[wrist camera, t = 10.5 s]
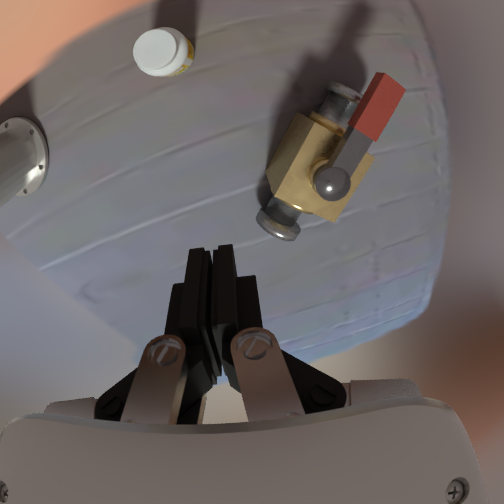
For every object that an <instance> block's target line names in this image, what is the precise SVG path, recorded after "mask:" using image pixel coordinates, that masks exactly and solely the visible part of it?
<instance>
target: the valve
mask: <svg viewBox="0 0 504 504" xmlns="http://www.w3.org/2000/svg"><path fill="white" fill-rule="evenodd" d="M326 90H327V91H329V93H328V95H327V97H326V99H325V100H324V102H323V104H322V106H321V108H320V109H319V111H318V113H316V112H314V111H312V112H311V114H310V115H309V117H307V116H305V115H303V114H301V113H299V112H297V113H296V114H295V116H294V118H293V120H292V122H291V124H290V126H289V127H288V129H287V131H286V133H285V135H284V137H283V139H282V141H281V142H280V144H279V146H278V148H277V150H276V152H275V154H274V156H273V158H272V160H271V161H270V163H269V165H268V167H267V169H266V171H265V173H266V175H267V178H268V181H269V183H270V186H271V187H270V190H271V192H272V193H273V195H272V197H271V199H270V201H269V202H268V204H267V206H266V207H261V208H260V210H259V212H258V214H257V216H256V221H257V223H258V224H259V225H260V227H261V228H263V229H264V230H265V231H266V232H268V233H269V234H271V235H272V236H274V237H276V238H279V239H281V240H285V241H294V240H295V239H296V238H297V236H298V234H299V233H300V231H301V229H300V226H299V225H298V224H297V222H296V221H297V219H298V218H299V216H300V214H301V213H302V212H303V213H306V214H316V215H318V216H321V217H323V218H325V219H327V220H329V221H332V222H335V221H336V219H337V218H338V216H339V215H340V213H341V212H342V210H343V209H344V207H345V205H346V204H347V202H348V201H349V199H350V198H351V196H352V194H353V193H354V191H355V190H356V188H357V186H358V185H359V183H360V182H361V180H362V178H363V177H364V175H365V174H366V172H367V170H368V169H369V167H370V165H371V164H372V162H373V160H374V159H375V158H374V157H373V156H372V155H370V154H369V153H367V152H366V153H365V155H364V157H363V158H362V160H361V162H360V163H359V165H358V166H357V168H356V170H355V171H354V173H353V175H352V176H351V178H350V180H351V187H350V190H349V192H348V193H347V195H346V196H345V197H343V198H342V199H340V200H338V201H327V200H324V199H323V198H322V197H321V196H320V195H319V194H318V192H317V191H316V189H315V188H314V185H313V175H314V173H315V171H316V170H317V169H318V168H319V167H320V166H321V165H323V164H326V163H327V162H328V160H329V159H330V157H331V155H332V154H333V152H334V150H335V148H336V147H337V145H338V143H339V142H340V140H341V138H342V136H343V135H344V133H345V131H346V130H347V128H348V126H349V125H348V124H347V123H348V121H349V120H350V118H351V116H352V115H353V113H354V111H355V109H356V108H357V106H358V104H359V102H360V100H361V99H362V97H363V95H362V94H360V93H359V92H357V91H355V90H353V89H352V88H350V87H348V86H346V85H344V84H342V83H339V82H337V81H334V80H330V82H329V84H328V85H327V87H326Z"/></svg>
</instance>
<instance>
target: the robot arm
mask: <svg viewBox="0 0 504 504" xmlns="http://www.w3.org/2000/svg"><path fill="white" fill-rule="evenodd" d="M48 160H49V156H48V148H47V144H46V141H45V138H44V136H43V134H42V132H41V130H40V129H39V127H38V126H37V125H36V124H35V123H34V122H32V121H31V120H30V119H27V118H25V117H13V118H11V119H8V120H6V121H5V122H3V123H2V124H1V125H0V208H1V207H2V206H3V205H4V204H5V203H6V202H7V201H9V200H10V199H11V198H12V197H13V196H14V195H15V196H27V195H30V194H31V193H33V192H34V191H35V190H37V189H38V188H39V187H40V185H41V184H42V183H43V181H44V179H45V177H46V174H47V170H48ZM222 366H223V369H224V372H225V375H226V376H227V377H228V380H229V383H230V386H231V387H233V388H234V389H236V390H237V391H238V392H240V393H241V394H242V398H243V402H244V406H245V410H246V414H247V417H248V421H249V422H241V423H226V424H202V421H203V416H204V410H205V405H206V398H207V397H206V396H207V394H206V393H207V392H208V391H209V390H210V389H211V388H212V387H213V385H214V384H217V376H222ZM0 504H489V501H488V497H487V493H486V489H485V484H484V480H483V477H482V473H481V470H480V466H479V463H478V460H477V457H476V454H475V452H474V449H473V446H472V444H471V441H470V439H469V437H468V434H467V432H466V430H465V428H464V426H463V424H462V422H461V421H460V419H459V417H458V416H457V414H456V413H455V412H454V410H453V409H452V408H451V407H449V406H448V405H447V404H446V403H444V402H442V401H439V400H435V399H431V398H424V397H421V393H420V390H419V387H418V386H417V385H416V384H415V382H413V381H411V380H409V379H403V378H399V379H382V380H351V381H350V383H340V382H339V381H337V380H336V379H334V378H332V377H330V376H328V375H327V374H325V373H323V372H321V371H319V370H317V369H315V368H314V367H312V366H310V365H308V364H306V363H304V362H303V361H301V360H299V359H297V358H295V357H294V356H292V355H290V354H288V353H287V352H285V351H283V350H281V349H280V347H279V344H278V341H277V339H276V337H275V336H274V334H273V333H271V332H270V331H269V330H267V329H264V328H263V326H262V318H261V311H260V304H259V297H258V290H257V283H256V276H255V275H252V276H243V277H237V272H236V265H235V258H234V251H233V245H232V244H229V245H220V246H218V250H213V264H212V259H211V254H210V251H205V249H204V248H194V249H190V250H189V255H188V261H187V267H186V274H185V280H184V283H177V284H174V285H173V287H172V292H171V298H170V303H169V309H168V315H167V321H166V327H165V333H164V335H161V336H158V337H156V338H154V339H152V340H151V341H150V342H149V343H148V344H147V345H146V347H145V349H144V351H143V354H142V357H141V360H140V363H139V365H138V367H137V368H136V369H135V370H134V371H132V372H131V373H130V374H128V375H127V376H126V377H125V378H123V379H122V380H121V381H119V382H118V383H117V384H115V385H114V386H113V387H112V388H110V389H109V390H107V391H106V392H105V393H104V394H102V396H100V397H99V399H95V398H94V397H90V398H82V399H75V400H67V401H58V402H53V403H50V404H49V405H48V406H47V407H46V409H45V410H44V413H32V414H27V415H23V416H19V417H17V418H15V419H13V420H11V421H10V422H9V423H7V424H6V426H5V427H4V429H3V431H2V434H1V436H0Z"/></svg>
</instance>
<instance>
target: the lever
mask: <svg viewBox="0 0 504 504" xmlns="http://www.w3.org/2000/svg"><path fill="white" fill-rule="evenodd" d="M405 91H406V89H405V88H403V87H402V86H401V85H400V84H398V83H397V82H396V81H395V80H393V79H392V78H391V77H390V76H388V75H387V74H386V73H379V72H376V74H375V76H374V78H373V79H372V81H371V83H370V85H369V86H368V88H367V90H366V92H365V93H364V95H363V97H362V99H361V100H360V102H359V104H358V106H357V108H356V109H355V111H354V113H353V115H352V116H351V118H350V120H349V121H348V123H347V124H348V125H349V126H348V128H347V130H346V131H345V133H344V135H343V136H342V138H341V140H340V142H339V143H338V145H337V147H336V148H335V150H334V152H333V154H332V155H331V157H330V159H329V160H328V162H327V163H326V164H323V165H321V166H320V167H319V168H318V169H317V170H316V171H315V173H314V175H313V185H314V188H315V189H316V191H317V192H318V194H319V195H320V196H321V197H322V198H323V199H324V200H327V201H338V200H340V199H342V198H343V197H345V196H346V195H347V193H348V192H349V190H350V187H351V180H350V178H351V176H352V175H353V173H354V171H355V170H356V168H357V166H358V165H359V163H360V162H361V160H362V158H363V157H364V155H365V153H366V152H367V150H368V148H369V147H370V145H371V143H372V141H373V140H374V141H375V142H376V141H377V140H378V138H379V136H380V134H381V133H382V131H383V129H384V128H385V126H386V124H387V122H388V121H389V119H390V117H391V115H392V114H393V112H394V110H395V108H396V107H397V105H398V103H399V101H400V100H401V98H402V96H403V94H404V92H405Z"/></svg>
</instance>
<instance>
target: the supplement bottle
mask: <svg viewBox="0 0 504 504" xmlns="http://www.w3.org/2000/svg"><path fill="white" fill-rule="evenodd" d="M133 55H134V59H135V61H136V63H137V65H138V67H139V68H140V69H141V70H142V71H143V72H145V73H147V74H149V75H152V76H175V75H179V74H181V73H183V72H184V71H186V70H187V69H188V68H189V67H190V66H191V64H192V62H193V59H194V48H193V45H192V44H191V42H190V41H189V40H188V39H187V38H186V37H185V36H184V35H183V34H182V33H181V32H179V31H178V30H176V29H173V28H169V27H160V28H156V29H153V30H150V31H147V32H145V33H144V34H142V35H141V36H140V37H139V38H138V39H137V41H136V43H135V45H134V48H133Z"/></svg>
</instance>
